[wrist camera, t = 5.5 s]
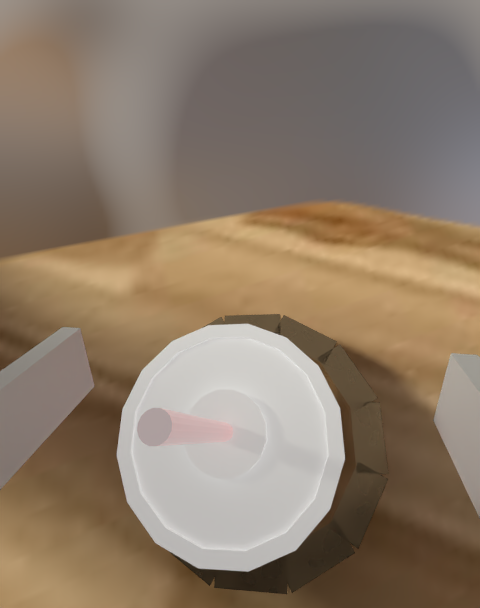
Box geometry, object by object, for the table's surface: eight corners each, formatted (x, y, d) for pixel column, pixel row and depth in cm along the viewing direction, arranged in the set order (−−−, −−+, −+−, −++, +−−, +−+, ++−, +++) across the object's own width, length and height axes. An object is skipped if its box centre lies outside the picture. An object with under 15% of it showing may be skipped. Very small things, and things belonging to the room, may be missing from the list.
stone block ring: (116, 472, 18) (83, 479, 15) (225, 301, 20) (214, 279, 17) (304, 623, 14) (307, 667, 11) (405, 395, 17) (427, 387, 14)
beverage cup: (310, 518, 16) (396, 907, 3) (186, 485, 17) (-160, 644, 4) (326, 385, 18) (416, 244, 5) (214, 365, 19) (45, 210, 6)
